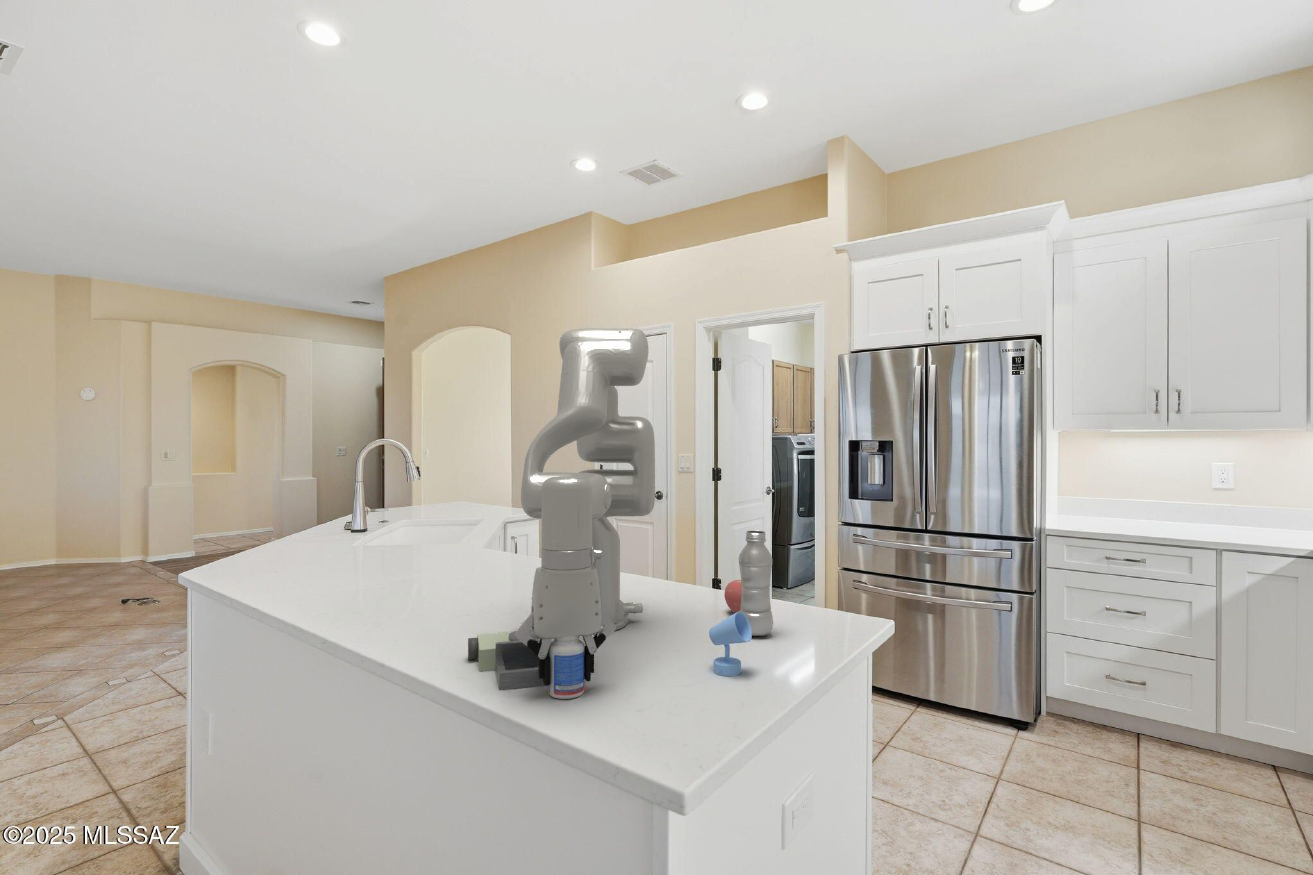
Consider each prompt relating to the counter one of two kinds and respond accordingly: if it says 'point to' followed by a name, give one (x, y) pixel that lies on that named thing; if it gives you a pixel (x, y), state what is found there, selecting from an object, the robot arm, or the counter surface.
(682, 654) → the counter surface
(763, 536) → the plastic bottle
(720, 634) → the spotlight
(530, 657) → the gray square tray
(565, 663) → the pill bottle
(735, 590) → the apple
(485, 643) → the green block with knobs
